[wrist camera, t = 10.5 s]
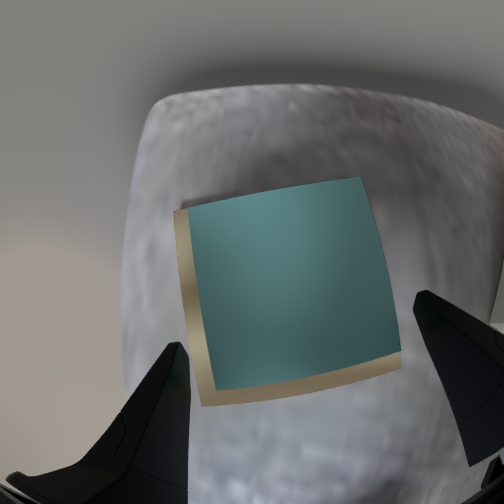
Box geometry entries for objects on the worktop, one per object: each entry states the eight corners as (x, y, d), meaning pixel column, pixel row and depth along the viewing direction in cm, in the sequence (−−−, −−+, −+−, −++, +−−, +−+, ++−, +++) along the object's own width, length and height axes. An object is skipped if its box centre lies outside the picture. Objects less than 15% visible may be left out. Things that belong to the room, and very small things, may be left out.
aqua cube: (355, 336, 15) (401, 350, 9) (238, 359, 15) (216, 390, 9) (331, 223, 17) (360, 176, 10) (219, 244, 17) (187, 208, 11)
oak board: (395, 365, 15) (401, 367, 14) (205, 401, 16) (201, 406, 15) (357, 184, 18) (360, 177, 17) (178, 215, 19) (173, 211, 18)
